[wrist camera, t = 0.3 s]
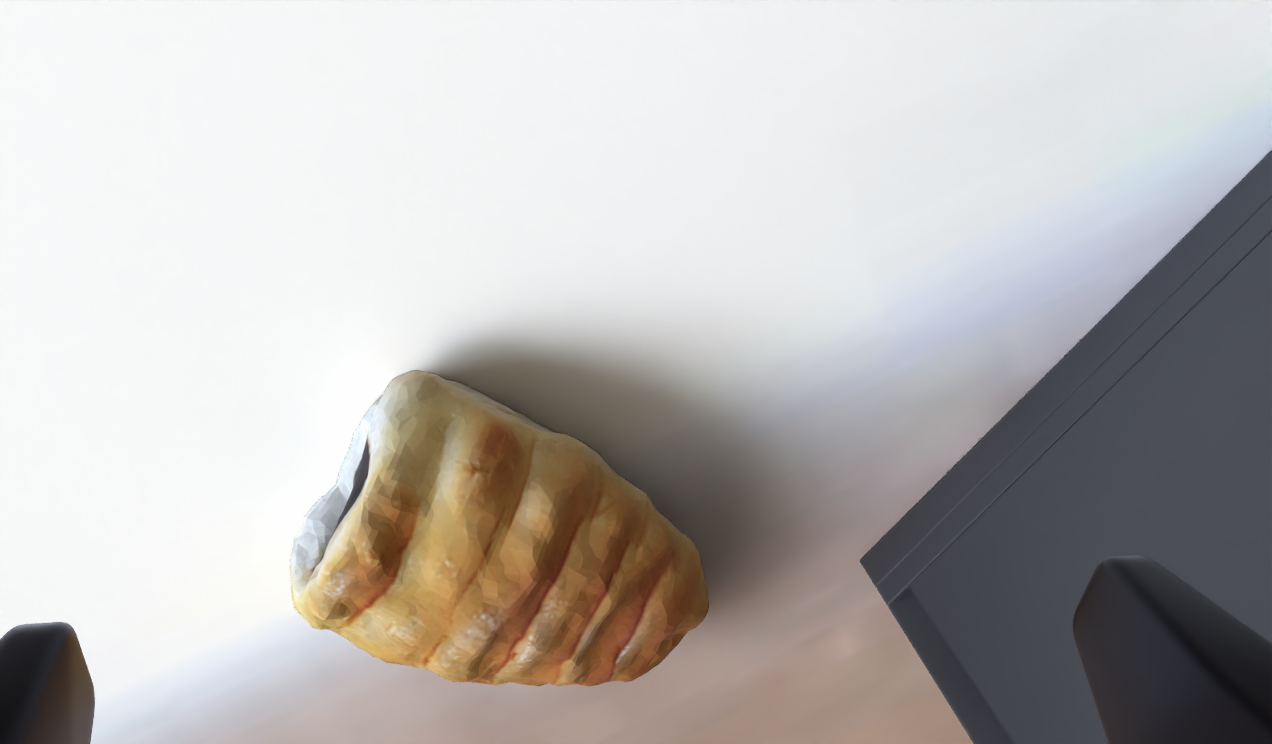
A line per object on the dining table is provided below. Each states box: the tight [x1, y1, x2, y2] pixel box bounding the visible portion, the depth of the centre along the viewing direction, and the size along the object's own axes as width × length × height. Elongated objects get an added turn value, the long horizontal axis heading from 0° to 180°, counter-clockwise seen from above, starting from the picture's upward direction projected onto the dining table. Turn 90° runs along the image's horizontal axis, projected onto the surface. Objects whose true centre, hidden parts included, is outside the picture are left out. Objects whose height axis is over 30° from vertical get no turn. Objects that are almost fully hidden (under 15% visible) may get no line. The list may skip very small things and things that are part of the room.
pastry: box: [290, 370, 709, 686], centre depth 26 cm, size 9×7×4 cm
